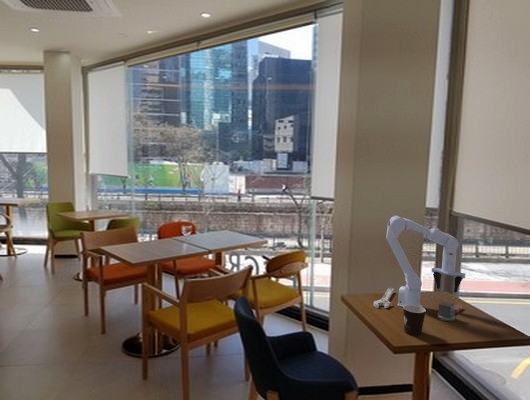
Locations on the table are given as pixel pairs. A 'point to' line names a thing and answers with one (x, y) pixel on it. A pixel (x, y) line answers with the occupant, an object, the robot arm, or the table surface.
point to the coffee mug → (413, 319)
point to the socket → (446, 309)
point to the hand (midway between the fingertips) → (446, 290)
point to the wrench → (384, 299)
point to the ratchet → (456, 310)
